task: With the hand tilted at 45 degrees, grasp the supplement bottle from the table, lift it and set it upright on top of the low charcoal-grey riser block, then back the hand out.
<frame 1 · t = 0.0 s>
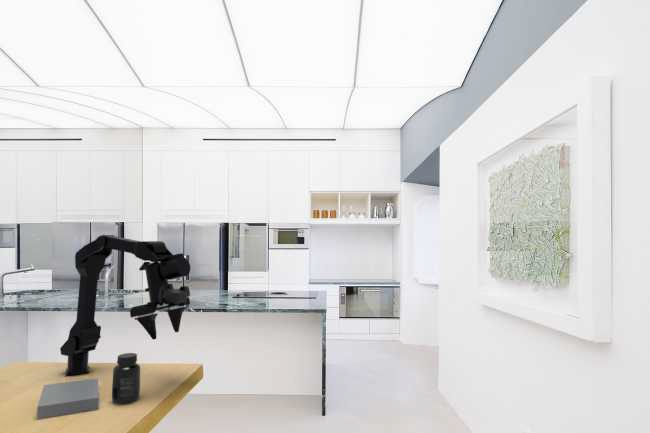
hand: (166, 335, 120), 15 cm above the table, tool pointing down, fingers open, 9 cm apart
supplement bottle: (125, 400, 112), on the table
riser block: (70, 402, 109), on the table
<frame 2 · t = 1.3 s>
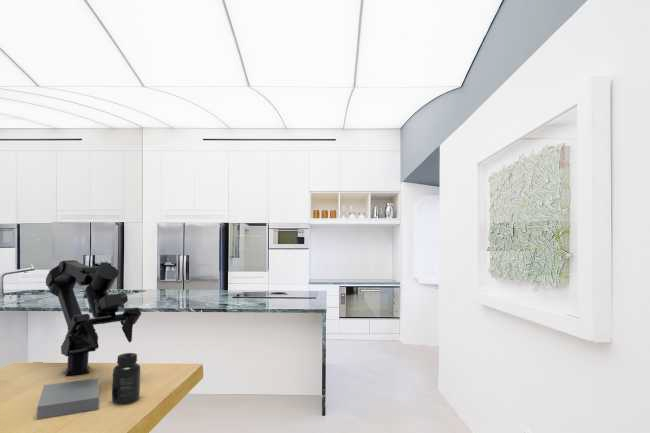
hand: (114, 344, 117), 13 cm above the table, tool tilted 45°, fingers open, 9 cm apart
nothing on the table moved.
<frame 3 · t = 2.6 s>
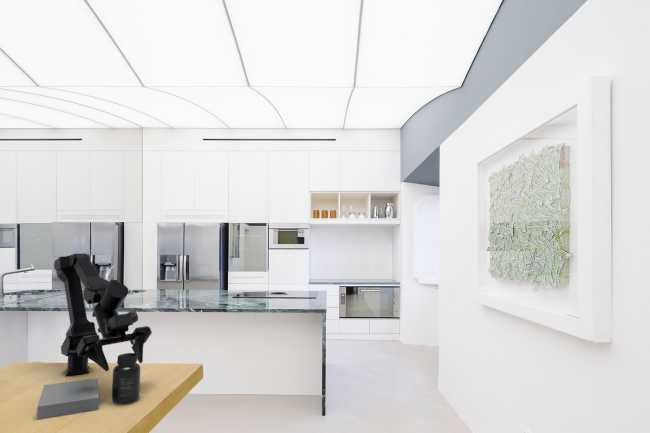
hand: (125, 366, 113), 9 cm above the table, tool tilted 45°, fingers open, 9 cm apart
nothing on the table moved.
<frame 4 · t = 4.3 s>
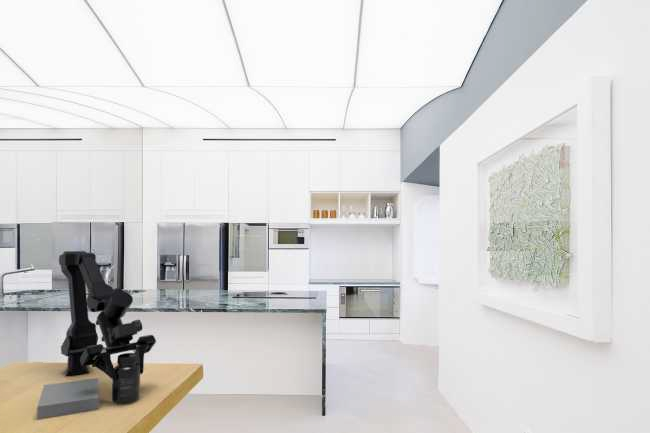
hand: (129, 376, 111), 7 cm above the table, tool tilted 45°, fingers closed on supplement bottle, 7 cm apart
supplement bottle: (125, 400, 112), on the table, touching gripper
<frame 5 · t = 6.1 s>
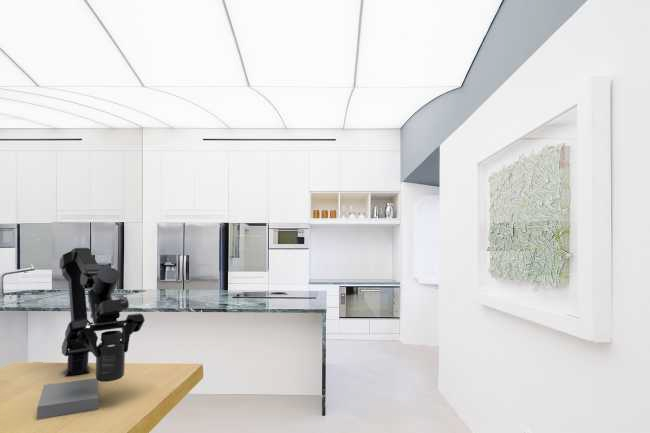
hand: (112, 353, 109), 13 cm above the table, tool tilted 45°, fingers closed on supplement bottle, 7 cm apart
supplement bottle: (109, 378, 110), point 6 cm above the table, touching gripper
when the fingers open (11 cm above the table, at t = 8.2 s): supplement bottle drops 1 cm, resting on riser block.
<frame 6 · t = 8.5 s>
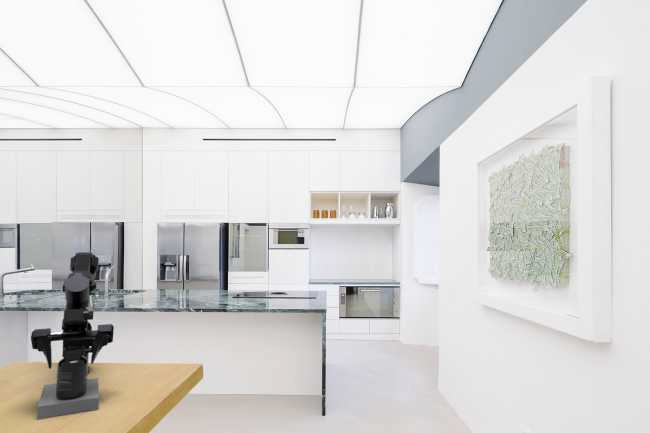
hand: (71, 365, 105), 11 cm above the table, tool tilted 45°, fingers open, 9 cm apart
supplement bottle: (71, 395, 106), point 3 cm above the table, touching riser block
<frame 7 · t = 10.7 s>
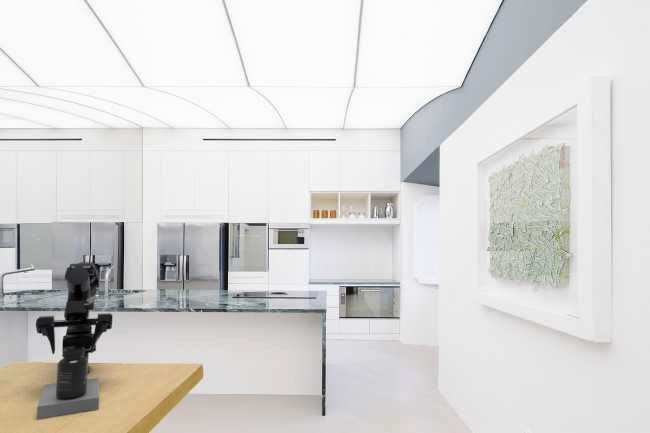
hand: (72, 352, 114), 12 cm above the table, tool tilted 35°, fingers open, 9 cm apart
nothing on the table moved.
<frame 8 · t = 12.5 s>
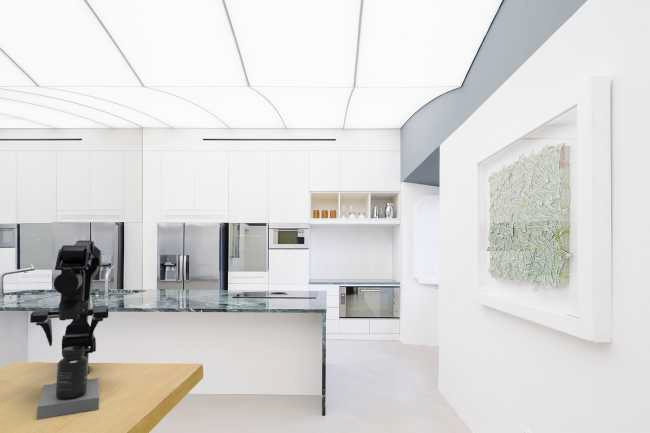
hand: (70, 344, 117), 13 cm above the table, tool pointing down, fingers open, 9 cm apart
nothing on the table moved.
at the end: supplement bottle inside the target area on the riser block (0.5 cm from its centre), point 2.8 cm above the riser block's base; supplement bottle tilted 0°; the gripper is holding nothing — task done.
